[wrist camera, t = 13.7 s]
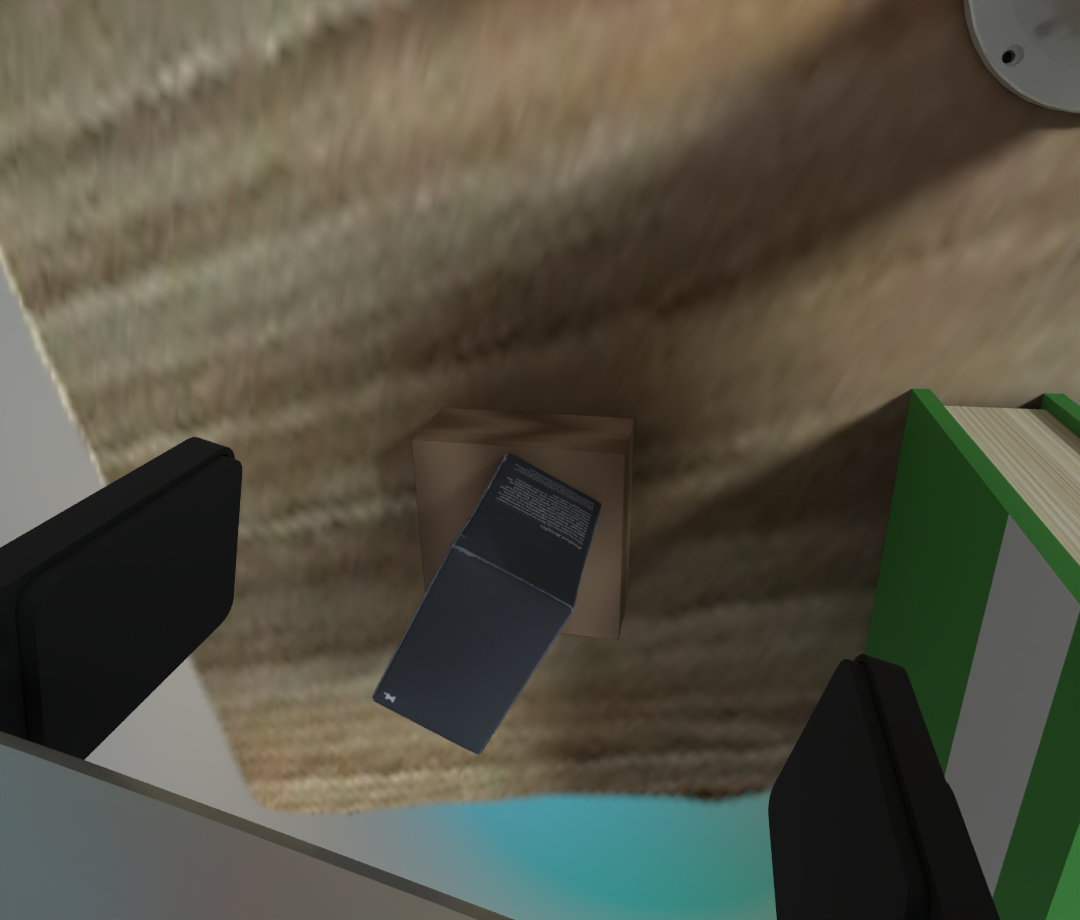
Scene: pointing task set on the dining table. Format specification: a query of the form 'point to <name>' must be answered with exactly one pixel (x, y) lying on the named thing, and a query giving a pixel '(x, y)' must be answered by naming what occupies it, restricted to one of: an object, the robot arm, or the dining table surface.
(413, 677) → the small box
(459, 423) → the walnut block
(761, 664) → the dining table surface
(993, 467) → the hardback book
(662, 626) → the dining table surface
